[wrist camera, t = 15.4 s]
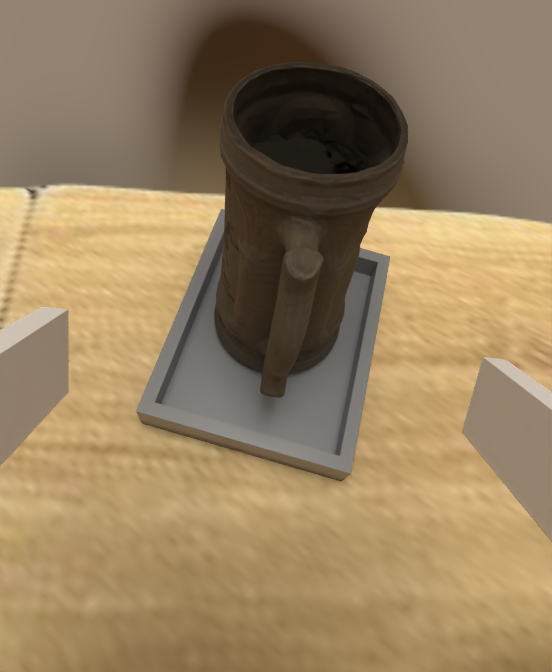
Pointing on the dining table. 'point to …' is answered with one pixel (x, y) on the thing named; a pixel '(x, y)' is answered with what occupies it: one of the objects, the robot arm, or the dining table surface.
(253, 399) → the tray
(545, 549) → the dining table surface
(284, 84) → the beer stein
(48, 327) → the robot arm
